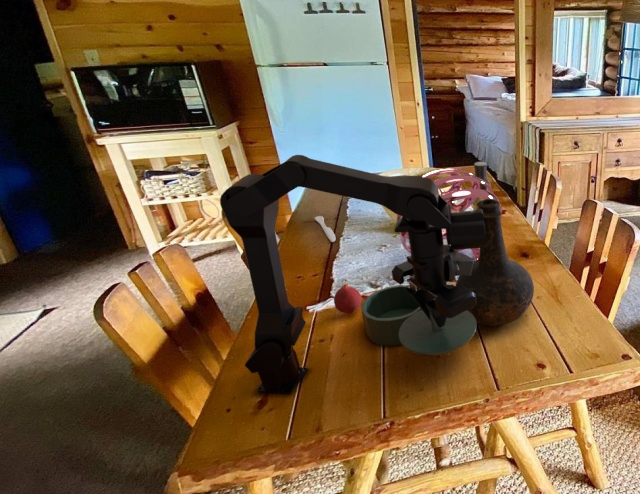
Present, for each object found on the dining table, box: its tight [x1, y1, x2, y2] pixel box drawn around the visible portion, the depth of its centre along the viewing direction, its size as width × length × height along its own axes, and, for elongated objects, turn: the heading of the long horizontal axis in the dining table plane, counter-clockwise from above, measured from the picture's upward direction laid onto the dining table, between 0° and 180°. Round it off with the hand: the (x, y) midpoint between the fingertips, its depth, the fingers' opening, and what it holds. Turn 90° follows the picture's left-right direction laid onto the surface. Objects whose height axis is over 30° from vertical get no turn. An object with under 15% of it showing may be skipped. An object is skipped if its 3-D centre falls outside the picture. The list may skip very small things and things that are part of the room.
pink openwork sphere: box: [396, 168, 503, 262], centre depth 118 cm, size 28×28×27 cm
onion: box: [333, 282, 363, 315], centre depth 101 cm, size 6×6×8 cm
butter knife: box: [313, 215, 337, 243], centre depth 144 cm, size 1×24×3 cm
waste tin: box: [361, 284, 422, 347], centre depth 97 cm, size 14×14×6 cm
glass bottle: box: [455, 199, 535, 327], centre depth 96 cm, size 18×18×28 cm
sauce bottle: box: [472, 161, 492, 210], centre depth 147 cm, size 7×6×20 cm
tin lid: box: [399, 310, 478, 356], centre depth 83 cm, size 15×15×5 cm
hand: (437, 323), depth 84 cm, fingers closed on tin lid, 2 cm apart
